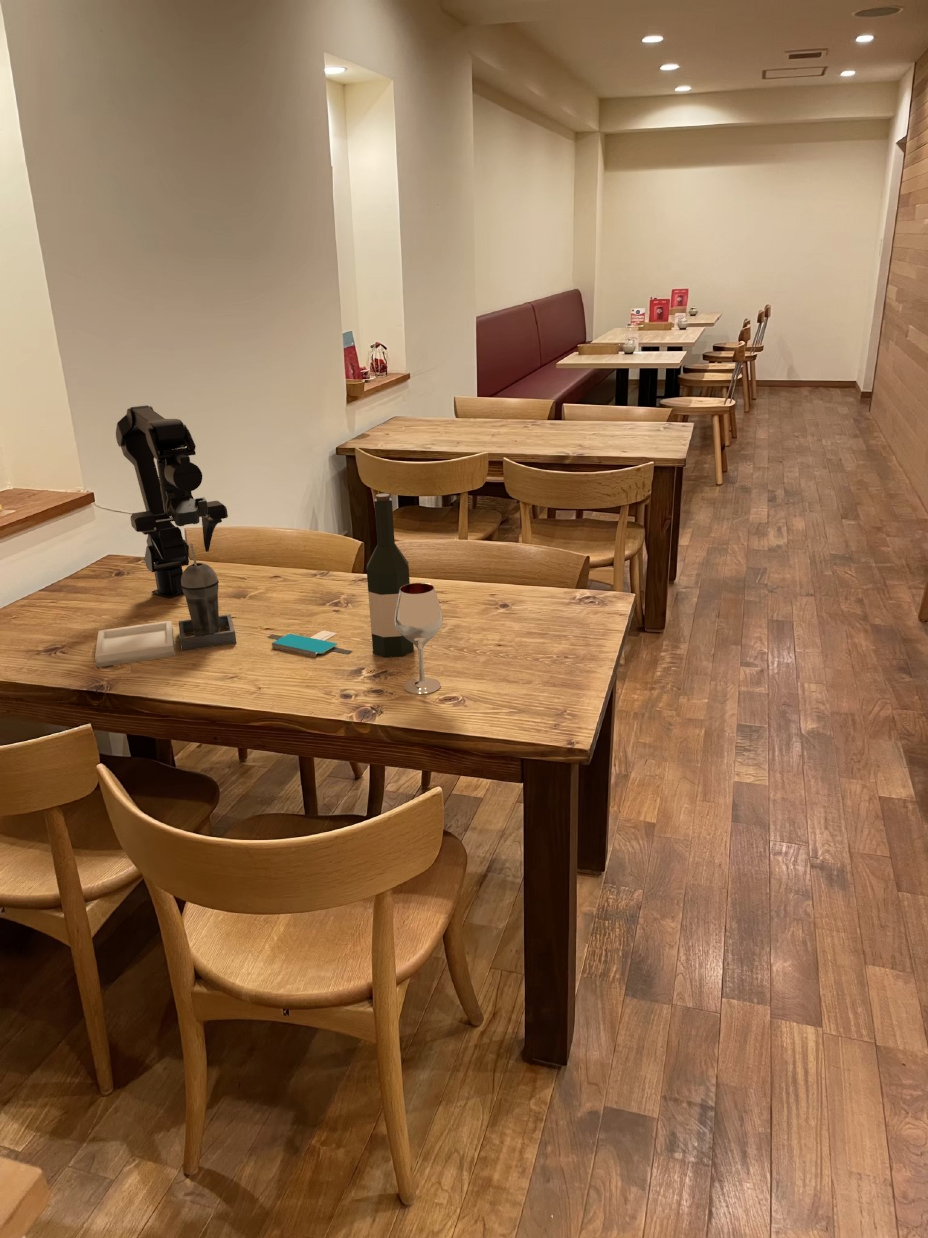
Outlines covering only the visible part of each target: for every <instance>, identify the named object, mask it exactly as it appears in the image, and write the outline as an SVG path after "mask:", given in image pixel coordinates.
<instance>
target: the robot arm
mask: <svg viewBox="0 0 928 1238" xmlns="http://www.w3.org/2000/svg"><path fill="white" fill-rule="evenodd" d="M115 439H116V443H117V446H118V447H119V448H121V452H122V454H123V456H124V457H125V459H127V460H128V461H129V462H130V463H131V464H132V466H133V468H134V471H135V475H136V478H137V482H138V485H139V490H140V493H141V497H142V501H143V504H144V508H145V511H138V512H132V513H131V515H130V523H131V527H132V528H133V529H134V530H135V532H136V533H142V534H143V535H146V536H147V537H146V545H147V546H146V548H145V553H144V562H145V567H146V569H147V570H148V571H149V572H151V573H154V578H155V583H156V589H154V590H152V591H151V593H152V594H153V595H157V596H160V597H163V598H167V599H168V598H172V597H176V596H179V595H182V594H184V593H183V590H182V588H181V577H182V574H183V572H184V571H183V567H185V566H187V567H188V566H190V564H189V563H190V553H189V552H190V544H187V543H188V542H187V540H186V539H184V537H183V534H182V530H181V528H180V527H184V526H187V525H197V524H200V520H201V527H202V538H203V546H204V550H205V552H206V553H208V552H210V551H209V550H210V546H211V542H212V538H213V533H214V531H215V529H216V527H217V526H218V524H220V523H222V522H223V519H228V517H229V515H228V509H227V507H226V505H225V504H224V503H222V502H221V501H219V500H212V501H207V499H206V497H205V496H203V497H196V498H194V496H193V493H192V492H193V491H195V490H197V489H198V488H199V487H200V485H201V484H202V481H203V472H202V470H201V469H200V467H199V466H198V465H196V464H195V463H193V462H191V457H190V456H196V444H195V441H194V439H193V437H192V434H191V432H190V430H189V429H188V427H187V425H186V424H185V423H184V422H182V420H181V419H179V418H165V417H163V416H162V415H160V414H159V413H158V412H156V411H155V410H154V408H153V406H151V405H137V406H131V407H129V408H127V410H126V414H125V415H124V416H123V417H122V418H121V419H119V420H118V422H116V429H115ZM155 460H156V462H155ZM200 518H201V519H200ZM173 522H174V524H175V525H174V524H173Z"/></svg>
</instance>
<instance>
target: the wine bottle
mask: <svg viewBox="0 0 928 1238" xmlns="http://www.w3.org/2000/svg"><path fill="white" fill-rule="evenodd" d="M373 504H374V518H375V528H376V530H375V531H376V546H375V548H374V550H373V552H372V554H371V556H370V558H369V560H368V562H367V563H366V578H367V579H366V580H367V591H368V592H367V593H368V604H369V615H370V616H369V617H370V628H371V629H370V631H371V632H370V633H371V644H372V655H376V656H379V657H381V658H385V659H388V658H401V657H404V656H407V655H408V654H412V653H414V651H415V647H414V646H415V645H414V644H413V643H412V642H410V641H409V640H407V639H406V638H404V637H403V636H402V635H401V634H400V633H399V632H398V630H397V628H396V626H395V622H394V617H395V610H396V604H397V599H398V595H399V590H400V588H401V587H402V586H404V585H407V584H411V582H410V567H409V562H408V560H407V558H406V557H405V555H404V554H403V552H402V551H401V550H400V548H399V547H398V546H397V544H396V542H395V527H394V526H395V525H394V513H393V499H392V497H390V494H389V493H378V494H376V495H375V499H373Z"/></svg>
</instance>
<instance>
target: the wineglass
mask: <svg viewBox="0 0 928 1238" xmlns="http://www.w3.org/2000/svg"><path fill="white" fill-rule="evenodd" d="M394 622H395V626H396V628H397V630H398V632H399V633H400V634H401V635H402V636H403V637H404V638H406V639H407V640H409V641H410V642H412V643H413V645H414V646H415V647H416V649H417V652H418V653H417V654H418V655H417V656H418V669H419V677H415V678H412V679H409V680H407V681H406V682H405V683H404V685H403V689H404V691H406V692H407V693H409V694H412V695H413V694H414V695H428V694H433V693H434V692H437V691H438V690H439V689H440V688H441V682H440V680H438V679H436V678H434V677H433V678H432V677H427V676H426V677H425V668H424V667H425V665H424V664H425V663H424V648H425V646H426V645H427V644H428V642H430V641H431V640H433V638H434V637H435V636H437V634H438V633H439V632H440V630H441V628H442V627H443V622H444V616H443V610H442V608H441V604H440V601H439V598H438V594H437V592H436V589H435V586H434V585H433V584H431V583H426V582H412V583H411V582H410V584H407V585H404V586H402V587H401V588H400V590H399V595H398V599H397V604H396V610H395V617H394Z"/></svg>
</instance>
